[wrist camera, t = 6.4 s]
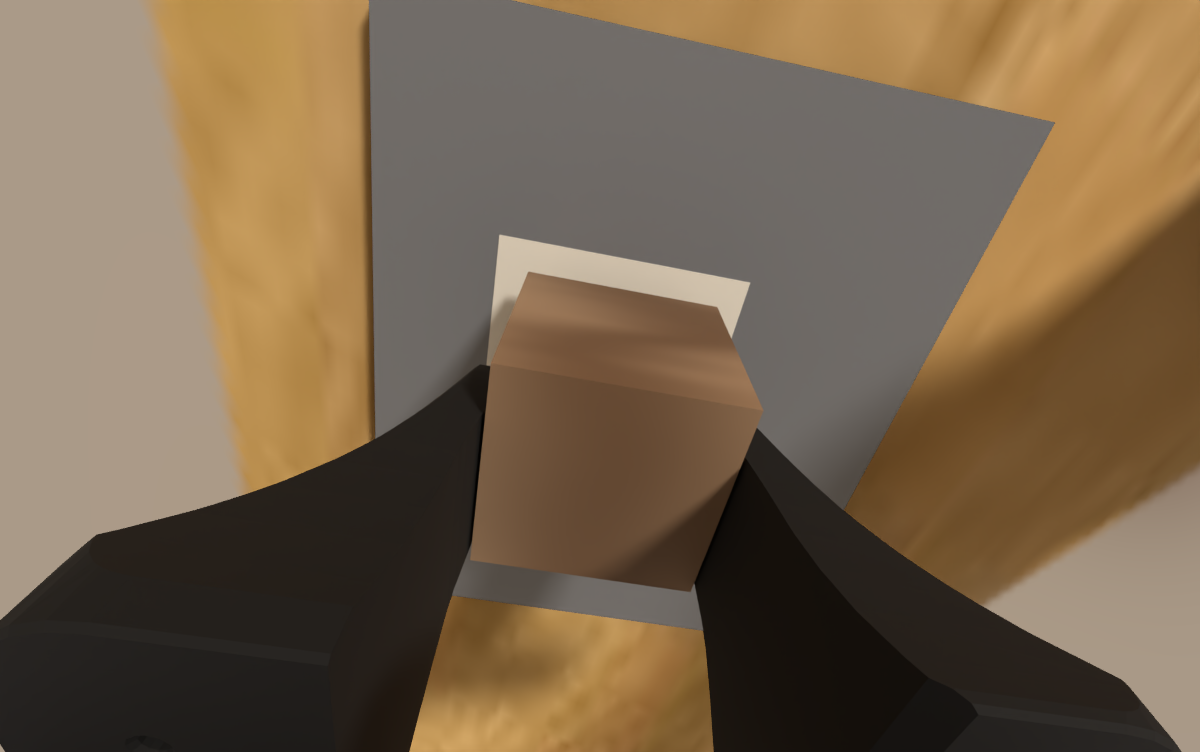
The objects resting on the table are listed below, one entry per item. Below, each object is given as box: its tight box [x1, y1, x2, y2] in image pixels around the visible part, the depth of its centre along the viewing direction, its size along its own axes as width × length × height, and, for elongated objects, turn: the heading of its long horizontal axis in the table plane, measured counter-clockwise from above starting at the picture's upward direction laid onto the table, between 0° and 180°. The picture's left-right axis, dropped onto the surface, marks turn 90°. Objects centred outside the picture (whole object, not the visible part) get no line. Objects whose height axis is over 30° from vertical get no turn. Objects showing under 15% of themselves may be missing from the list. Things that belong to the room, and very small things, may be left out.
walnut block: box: [470, 272, 764, 592], centre depth 11 cm, size 4×4×4 cm
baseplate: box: [369, 0, 1055, 631], centre depth 14 cm, size 13×16×1 cm
